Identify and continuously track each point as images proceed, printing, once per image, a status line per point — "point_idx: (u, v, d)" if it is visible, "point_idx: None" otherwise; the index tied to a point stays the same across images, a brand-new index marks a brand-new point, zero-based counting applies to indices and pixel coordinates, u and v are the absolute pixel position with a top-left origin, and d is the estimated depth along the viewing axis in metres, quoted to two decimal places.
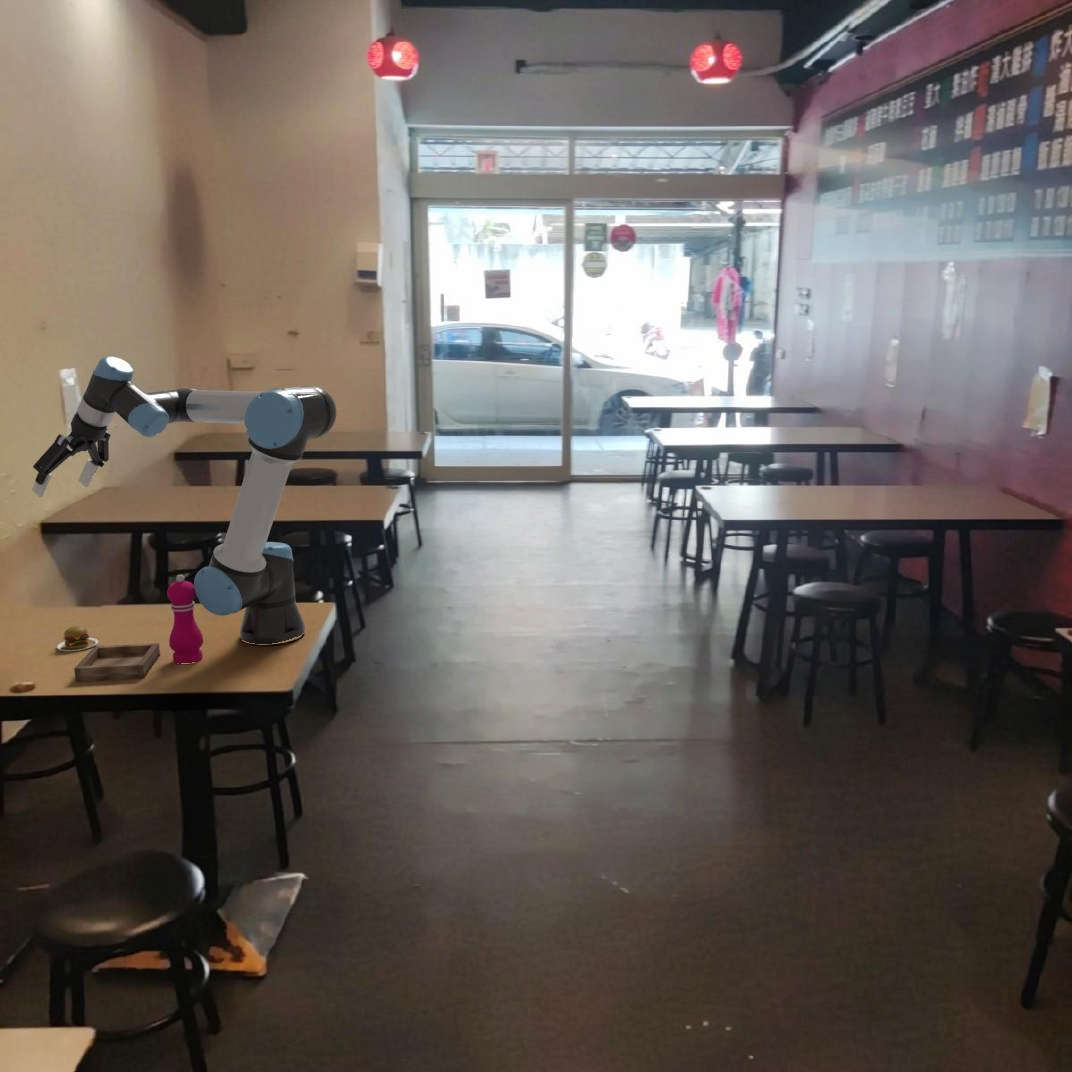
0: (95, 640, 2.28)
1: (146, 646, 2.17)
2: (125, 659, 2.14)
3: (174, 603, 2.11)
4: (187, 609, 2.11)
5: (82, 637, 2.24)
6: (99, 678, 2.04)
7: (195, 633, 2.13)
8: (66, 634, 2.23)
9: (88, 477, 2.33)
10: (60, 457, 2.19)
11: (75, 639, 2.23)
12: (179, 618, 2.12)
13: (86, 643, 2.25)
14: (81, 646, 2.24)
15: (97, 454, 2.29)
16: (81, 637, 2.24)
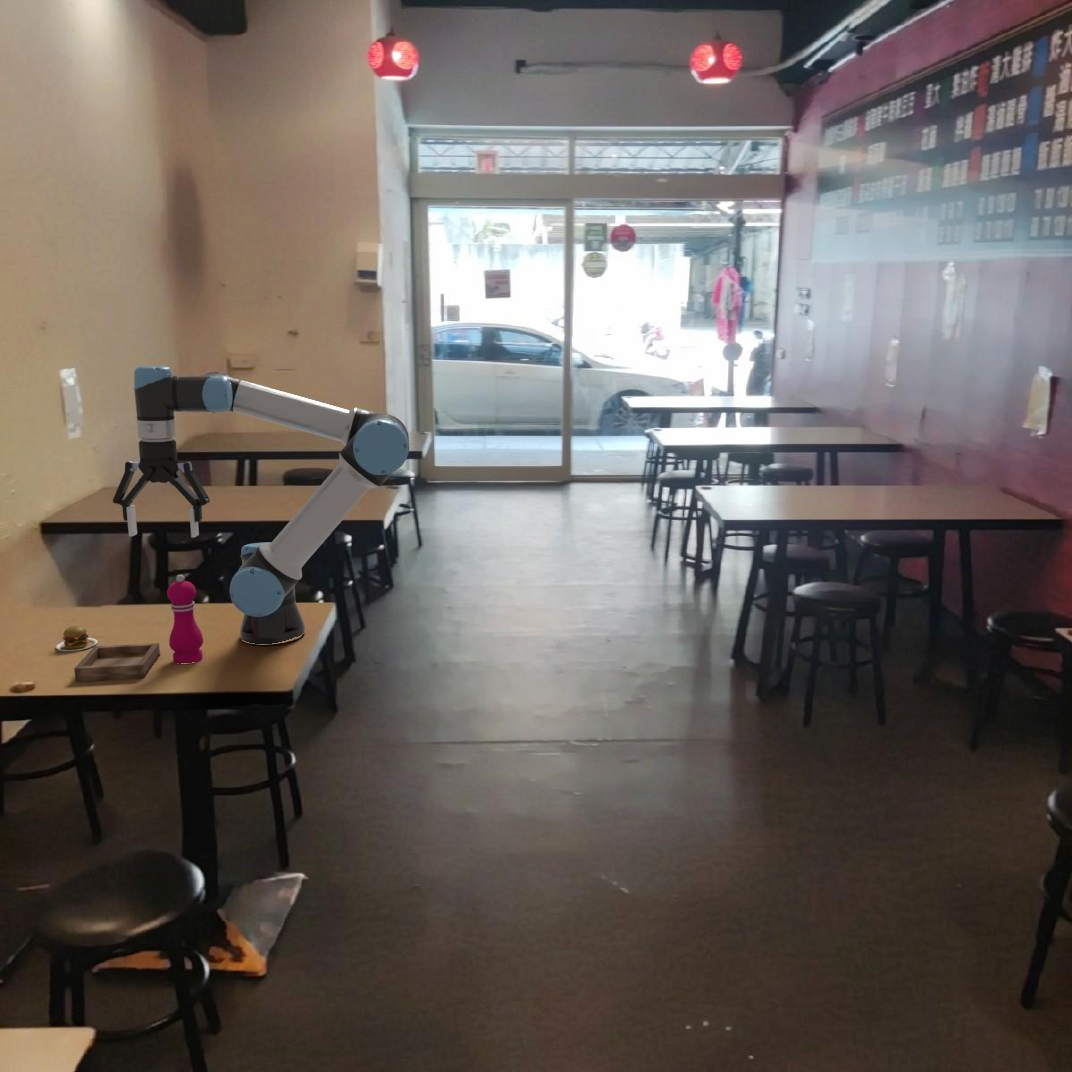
0: (94, 640, 2.28)
1: (146, 646, 2.17)
2: (125, 659, 2.14)
3: (174, 603, 2.11)
4: (187, 609, 2.11)
5: (81, 637, 2.24)
6: (99, 678, 2.04)
7: (195, 633, 2.13)
8: (65, 634, 2.23)
9: (135, 522, 2.10)
10: (186, 486, 2.08)
11: (74, 639, 2.23)
12: (179, 618, 2.12)
13: (85, 643, 2.25)
14: (80, 646, 2.24)
15: None
16: (80, 637, 2.24)
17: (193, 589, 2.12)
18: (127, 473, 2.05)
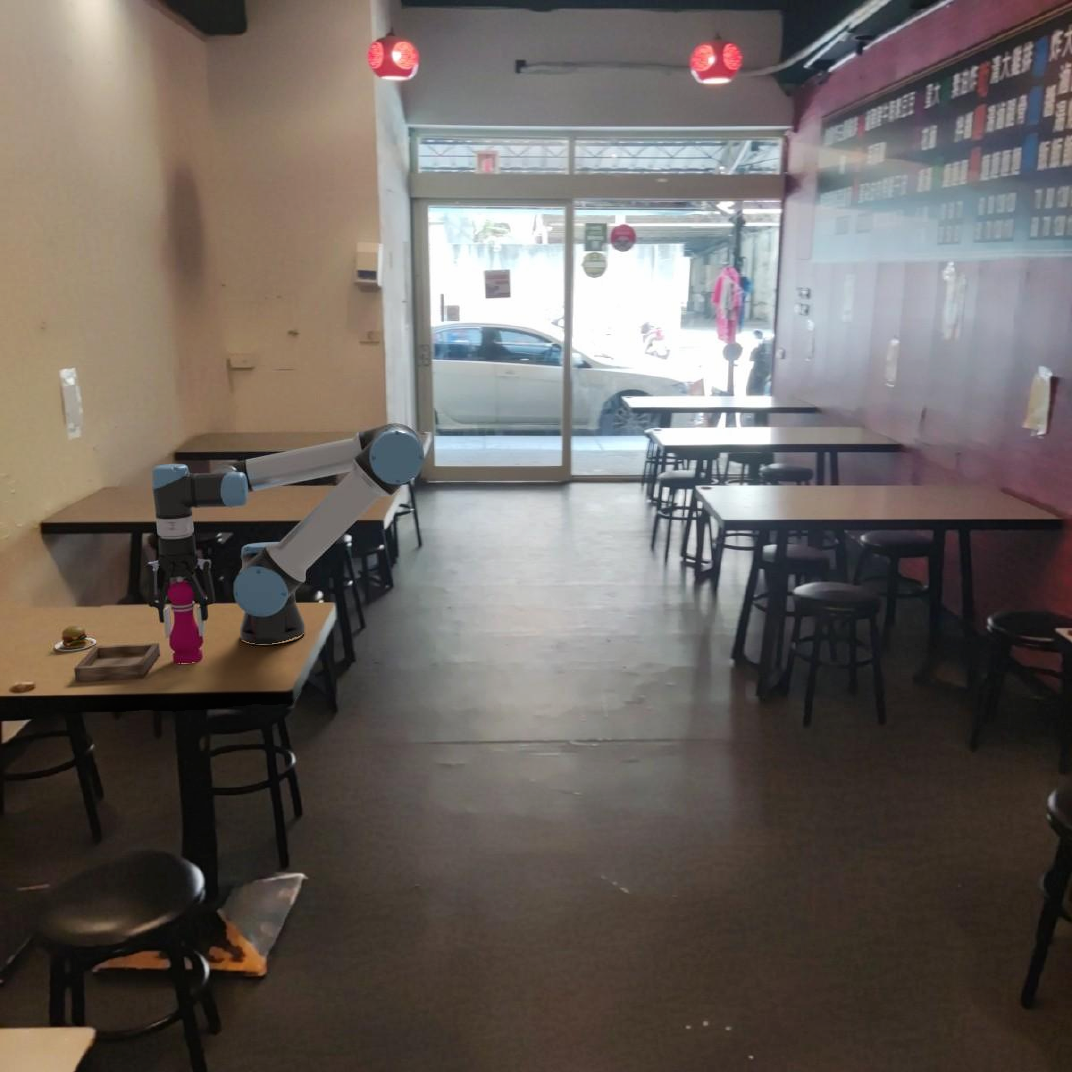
0: (93, 640, 2.28)
1: (146, 646, 2.17)
2: (125, 659, 2.14)
3: (174, 603, 2.11)
4: (187, 609, 2.11)
5: (79, 637, 2.24)
6: (99, 678, 2.04)
7: (195, 633, 2.13)
8: (64, 634, 2.23)
9: (170, 622, 2.14)
10: (198, 584, 2.13)
11: (72, 639, 2.23)
12: (179, 618, 2.12)
13: (84, 643, 2.25)
14: (78, 646, 2.24)
15: None
16: (78, 637, 2.24)
17: None
18: (151, 575, 2.09)
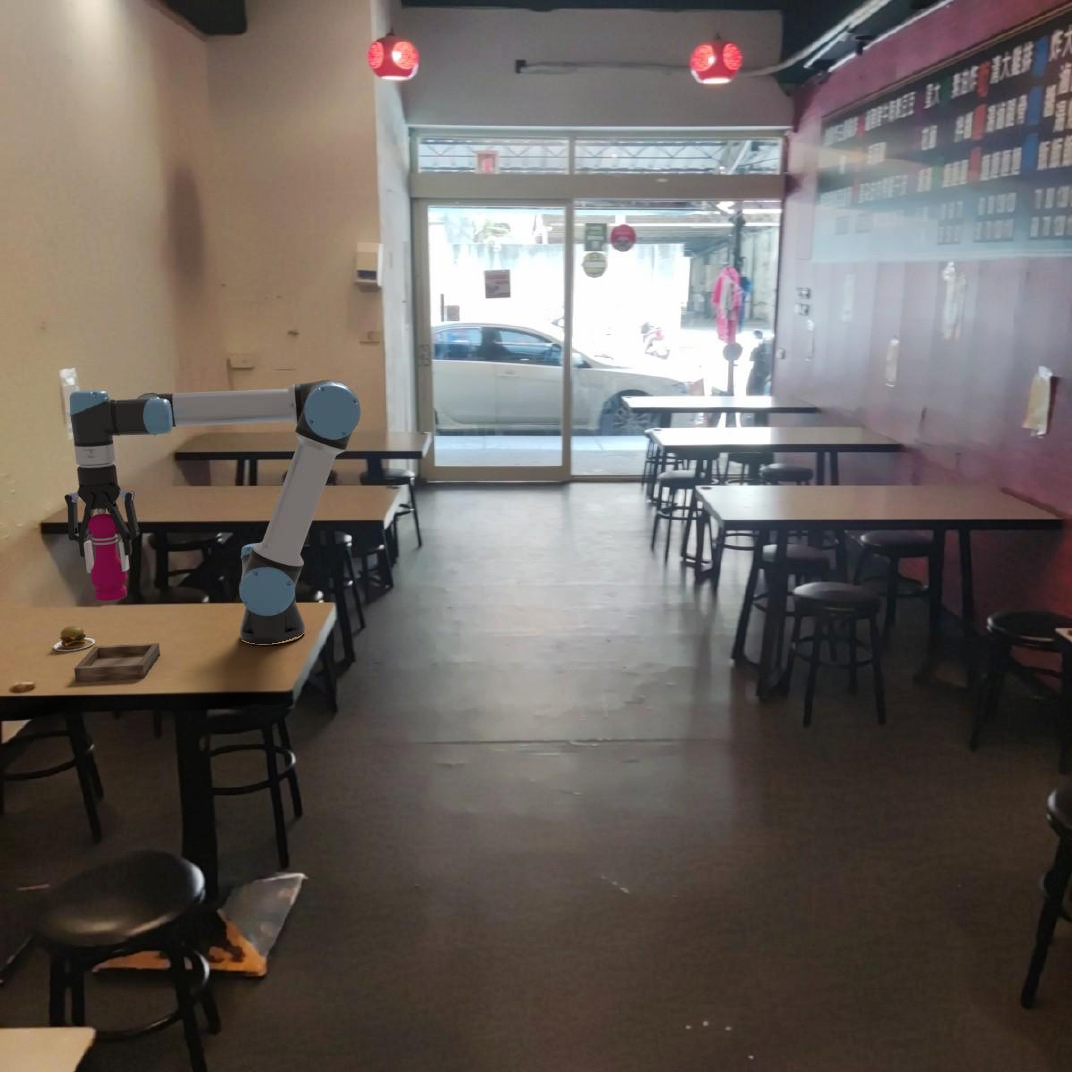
0: (92, 640, 2.28)
1: (146, 646, 2.17)
2: (125, 659, 2.14)
3: (95, 536, 2.02)
4: (109, 542, 2.03)
5: (78, 637, 2.24)
6: (99, 678, 2.04)
7: (117, 568, 2.05)
8: (62, 634, 2.23)
9: (92, 557, 2.06)
10: (121, 517, 2.05)
11: (71, 639, 2.23)
12: (100, 552, 2.03)
13: (82, 643, 2.25)
14: (77, 646, 2.24)
15: None
16: (77, 637, 2.24)
17: None
18: (70, 506, 2.01)
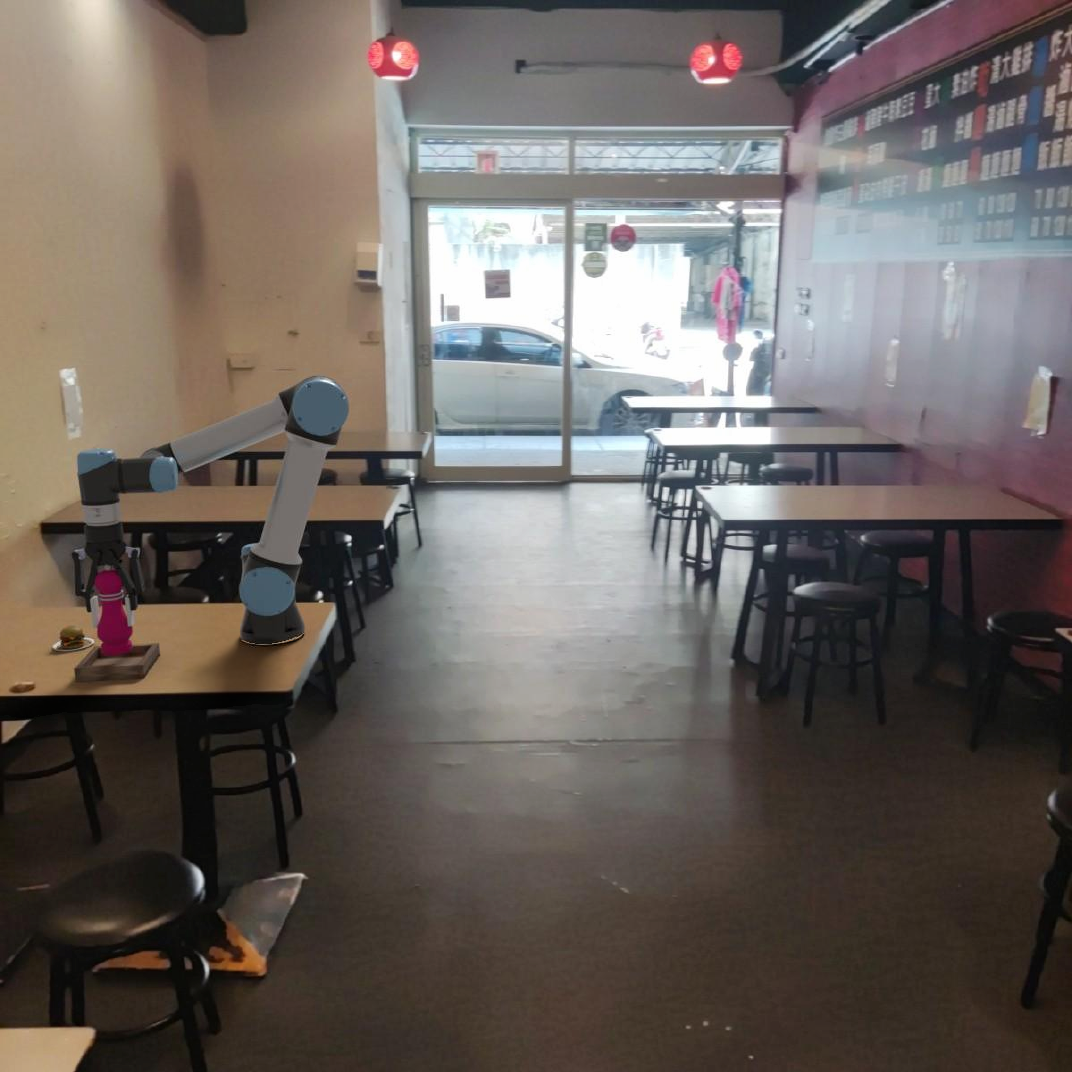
0: (91, 640, 2.28)
1: (146, 646, 2.17)
2: (125, 659, 2.14)
3: (101, 592, 2.05)
4: (115, 598, 2.06)
5: (77, 637, 2.24)
6: (99, 678, 2.04)
7: (123, 623, 2.07)
8: (61, 634, 2.23)
9: (98, 612, 2.09)
10: (127, 572, 2.07)
11: (70, 639, 2.23)
12: (107, 608, 2.06)
13: (81, 643, 2.25)
14: (76, 646, 2.24)
15: None
16: (76, 637, 2.24)
17: None
18: (77, 563, 2.04)
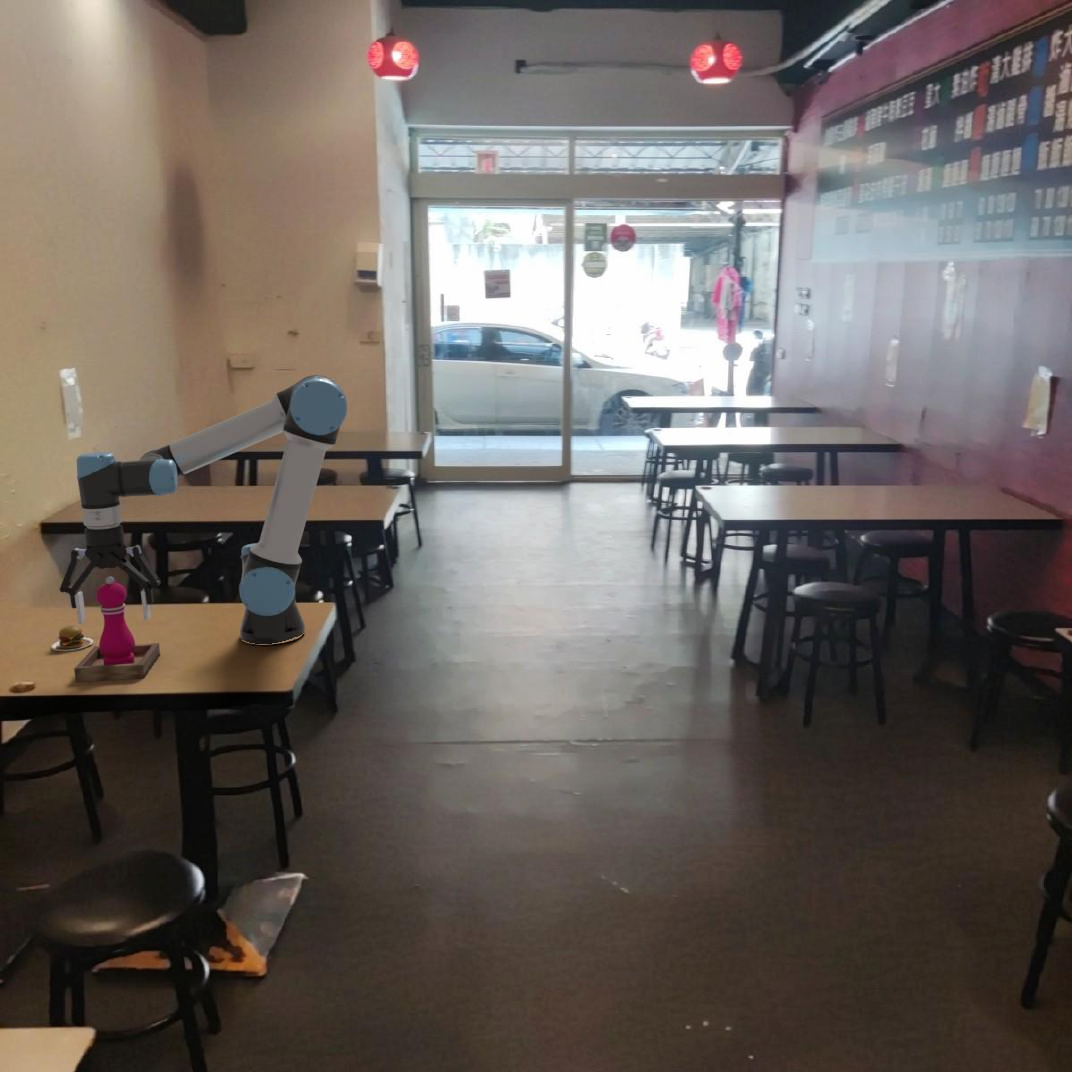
0: (90, 640, 2.28)
1: (146, 646, 2.17)
2: None
3: (103, 606, 2.06)
4: (117, 612, 2.06)
5: (76, 637, 2.24)
6: (99, 678, 2.04)
7: (125, 636, 2.08)
8: (60, 634, 2.23)
9: (83, 608, 2.08)
10: (135, 569, 2.08)
11: (68, 639, 2.23)
12: (109, 621, 2.07)
13: (80, 643, 2.25)
14: (75, 646, 2.24)
15: None
16: (75, 637, 2.24)
17: (123, 591, 2.07)
18: (73, 561, 2.03)
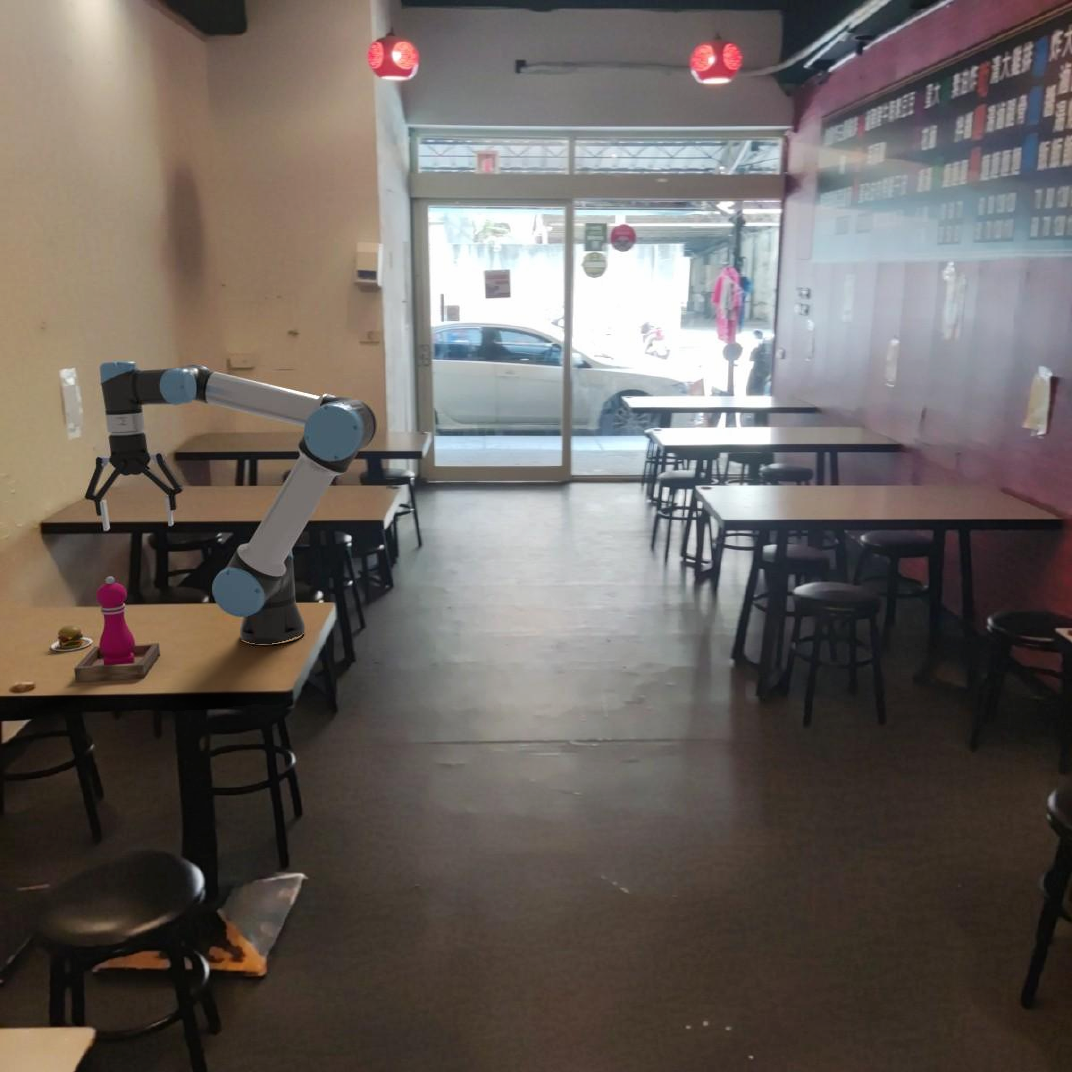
0: (90, 640, 2.28)
1: (146, 646, 2.17)
2: None
3: (103, 606, 2.06)
4: (117, 612, 2.06)
5: (75, 637, 2.24)
6: (99, 678, 2.04)
7: (125, 636, 2.08)
8: (59, 633, 2.23)
9: None
10: (158, 477, 2.13)
11: (67, 639, 2.23)
12: (109, 621, 2.07)
13: (79, 643, 2.25)
14: (74, 646, 2.24)
15: None
16: (74, 637, 2.24)
17: (123, 591, 2.07)
18: (98, 468, 2.08)
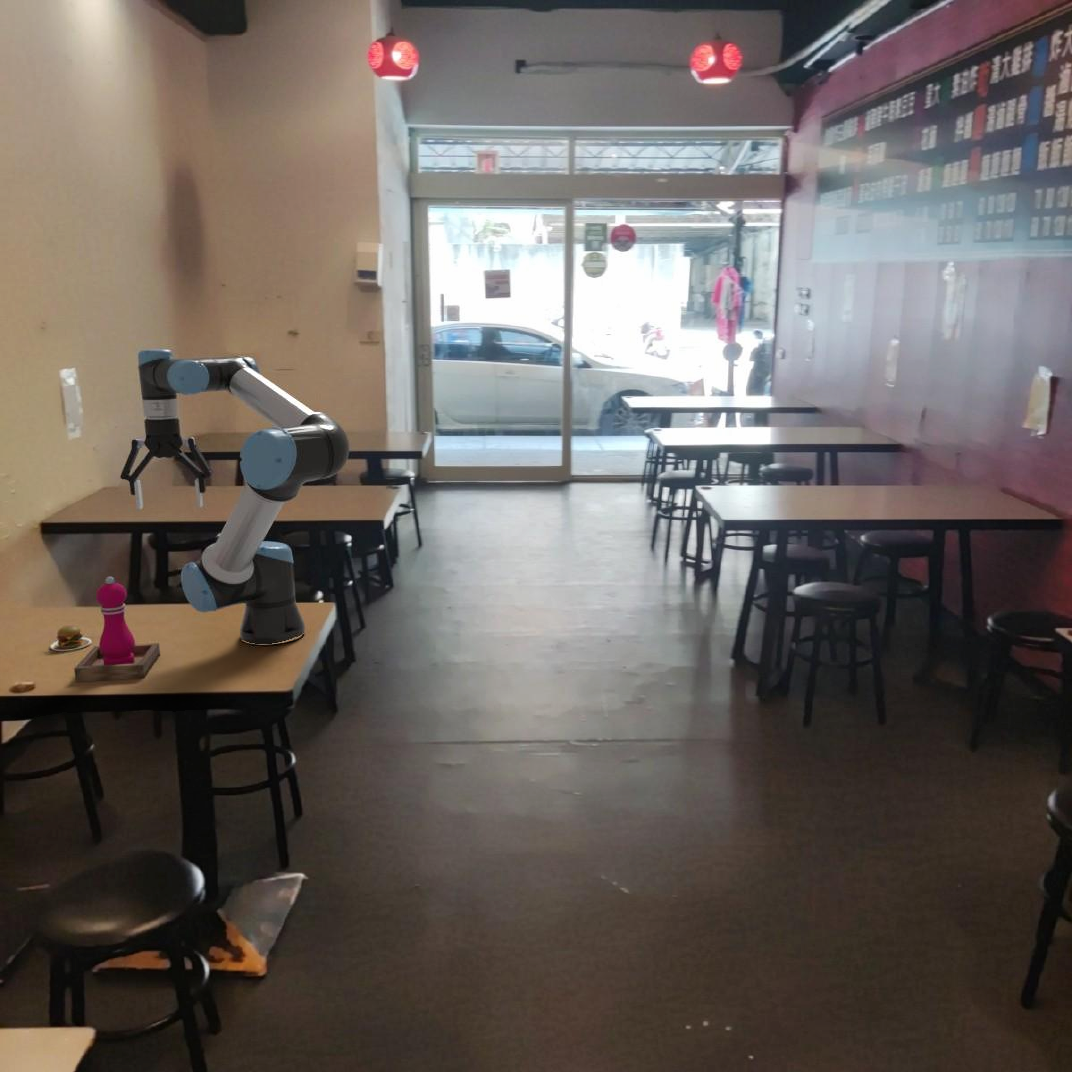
0: (89, 640, 2.28)
1: (146, 646, 2.17)
2: None
3: (103, 606, 2.06)
4: (117, 612, 2.06)
5: (74, 637, 2.24)
6: (99, 678, 2.04)
7: (125, 636, 2.08)
8: (58, 633, 2.23)
9: (141, 496, 2.25)
10: (190, 460, 2.24)
11: (67, 639, 2.23)
12: (109, 621, 2.07)
13: (78, 643, 2.25)
14: (73, 646, 2.24)
15: None
16: (73, 637, 2.24)
17: (123, 591, 2.07)
18: (133, 450, 2.20)
